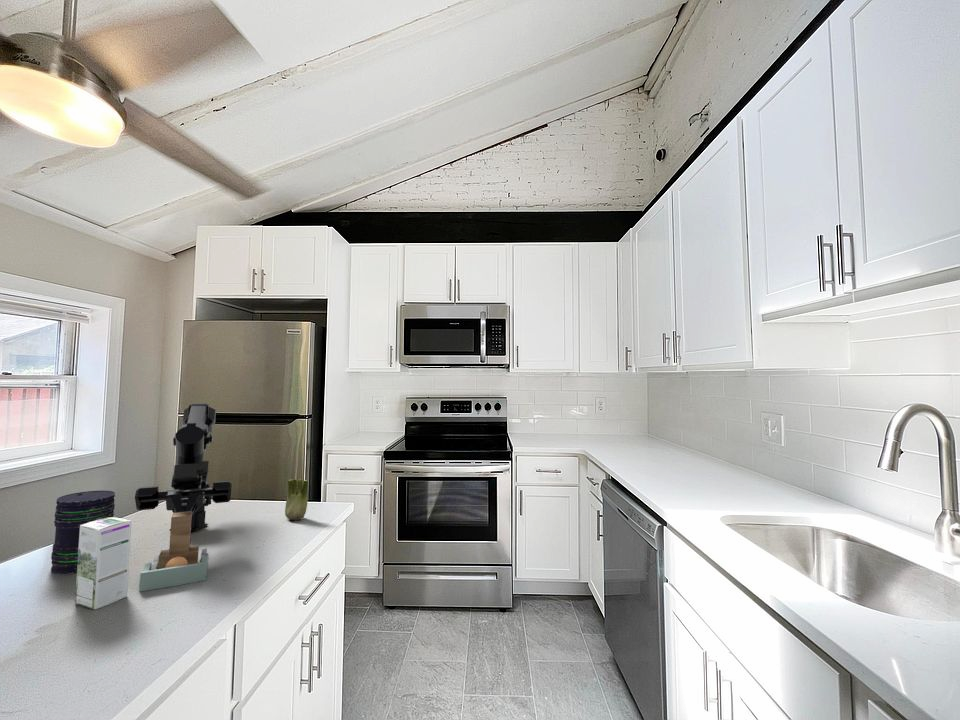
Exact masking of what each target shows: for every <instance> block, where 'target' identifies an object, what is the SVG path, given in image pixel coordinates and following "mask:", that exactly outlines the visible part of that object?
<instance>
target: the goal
mask: <svg viewBox="0 0 960 720" xmlns="http://www.w3.org/2000/svg"><path fill="white" fill-rule="evenodd" d="M208 561H209V554H206V555H203V557H202V563H200V562H197V563H196V564H189V565H183V566H176V567H169V568H163V569H158V568H157V569H156V570H151V566H152V562H148V563H145V564H144V567H143V569H142V571H140V574H139V586H138V587H139V589H138V592H139V593H140V592H144V591H146V592H147V591H152V590H156V589H157V590H159V589H164V588H168V587H169V588H170V587H175V586H180V585H181V584H182V585H185V584H186V585H188V584H193V583H192V582H194V583H199V582H198V581H200V582H205V580H207V573H208V572H207V571H208ZM187 583H188V584H187Z"/></svg>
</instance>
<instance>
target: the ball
mask: <svg viewBox="0 0 960 720" xmlns="http://www.w3.org/2000/svg"><path fill="white" fill-rule="evenodd" d="M183 565H188V562H187V560H186V559H185V558H184V557H175V558H172V559H171V560H170V561H169V562H168V563H167V564H166V566H165V568H169V567H176V566H183Z"/></svg>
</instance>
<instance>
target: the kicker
mask: <svg viewBox="0 0 960 720" xmlns="http://www.w3.org/2000/svg"><path fill="white" fill-rule="evenodd" d="M170 517H171V518H170V529H171V531H170V530H169V532H170V533H169V545H168V546H169V547H168V549H167V548H166V549H162V550H160V553H159V559H158V567H157V569H163V568H165V566H166V564H167V563H168V562H169V561H170V560H171V559H172V558H175V557H184V558H185V559H186V560H187V562H188V565H189V564H196V563H199V562H198V560H199V551H200V549H199V548H200V545H199V544H198V545H192V546H191V535H192V532H191V519H192V511H187V512H177V513H173V512H172V515H171V516H170Z"/></svg>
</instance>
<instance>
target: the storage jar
mask: <svg viewBox="0 0 960 720" xmlns="http://www.w3.org/2000/svg"><path fill="white" fill-rule="evenodd" d="M115 497H116V492H115V491H113V490H89V491H80V492H74V493H69V494H65V495H61V496H59V497H57V498H56V502H55V503H56V505H55V511H54V522H53V523H54V527H55V533H54V534H55V535H54V542H53V545H52V552H51V554H50V555H51V556H50V560H51V568H50V572H51V573H52V574H54V575H75V574H77V564H78V548H79V533H80V525H83V524H86V523H89V522H92V521H95V520H99V519H103V518H108V517H114V515H115V512H114V511H115V507H116V506H115Z"/></svg>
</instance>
